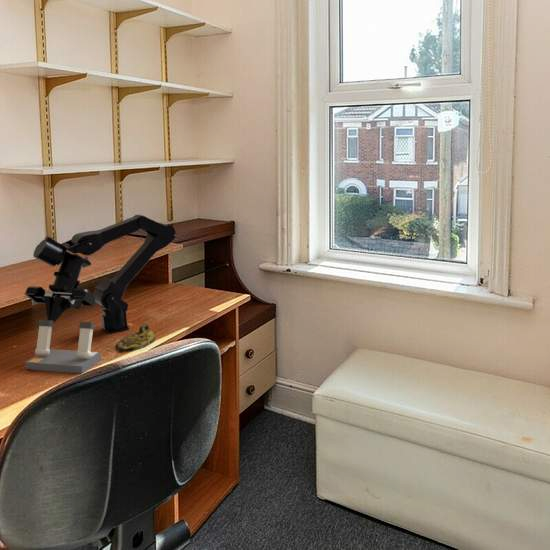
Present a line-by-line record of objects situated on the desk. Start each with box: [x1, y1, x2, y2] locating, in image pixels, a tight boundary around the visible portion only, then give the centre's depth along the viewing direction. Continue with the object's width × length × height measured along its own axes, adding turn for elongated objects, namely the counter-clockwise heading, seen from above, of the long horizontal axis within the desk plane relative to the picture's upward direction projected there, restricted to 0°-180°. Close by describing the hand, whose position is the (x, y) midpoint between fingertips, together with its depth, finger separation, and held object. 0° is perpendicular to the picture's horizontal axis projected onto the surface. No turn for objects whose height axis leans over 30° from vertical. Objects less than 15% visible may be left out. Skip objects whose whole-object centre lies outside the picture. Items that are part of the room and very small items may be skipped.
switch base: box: [24, 348, 102, 375], centre depth 145 cm, size 9×16×2 cm, turn 77°
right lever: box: [76, 321, 96, 358], centre depth 144 cm, size 2×3×9 cm, turn 77°
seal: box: [116, 322, 156, 352], centre depth 159 cm, size 9×5×15 cm
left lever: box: [34, 319, 55, 356], centre depth 146 cm, size 2×3×9 cm, turn 77°
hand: (50, 324), depth 151 cm, fingers closed
